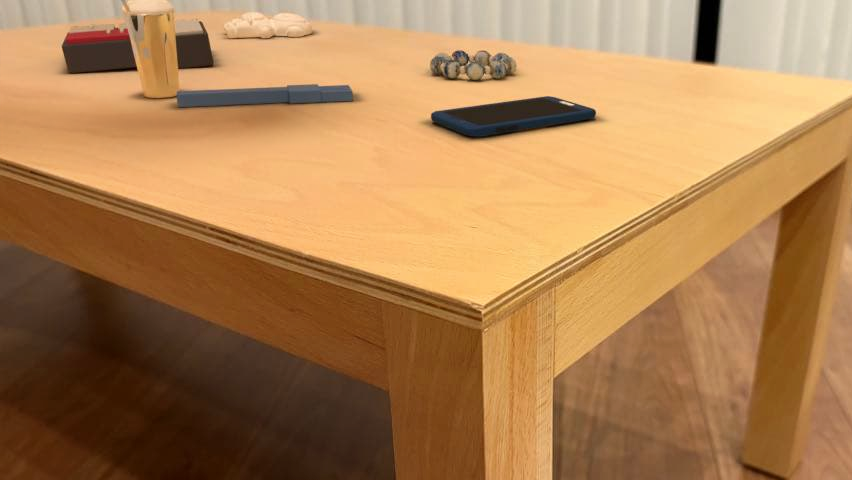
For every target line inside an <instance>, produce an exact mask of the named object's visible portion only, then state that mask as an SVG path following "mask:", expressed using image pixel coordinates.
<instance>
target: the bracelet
mask: <svg viewBox="0 0 852 480" xmlns="http://www.w3.org/2000/svg"><path fill="white" fill-rule="evenodd" d="M429 68H430V71H431V72H432V74H435V75H437V76H438V75H439V76H441V75H443V76H444V77H446V78H447V79H450V80H453V79H456V78H458V77H459V76H460V75H466V77H467V78H468V79H470V80H472V81H479V80H480V79H482V78H483V77H484V76H485V75H486V76H487V75H489V76H490V77H492V78H494V79H502V78H504V77H505V76H506V75H512V74H514V73H515V72H516V70H517V62H516V60H515V58H513V57H512V56H509V55H508V54H507V53H505V52H498V53H496V54H495V55H491V53H490V52H489V51H487V50H483V49H482V50H478V51H477V52H476V53H475V54H474V55H473V54H469V53H467V52H466V51H464V50H461V49H459V50H455V51H453V53H452V54H451V55H449V54H448V53H447V52H439V53H437V54H436V55H434V57H433V58H431V60H430V62H429Z"/></svg>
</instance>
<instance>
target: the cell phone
mask: <svg viewBox="0 0 852 480" xmlns="http://www.w3.org/2000/svg"><path fill="white" fill-rule="evenodd" d="M596 114H597V111H596V109H595V108H592V107H589V106H585V105H583V104H578V103H576V102H572V101H569V100H565V99H563V98H560V97H556V96H549V95H545V96H538V97H530V98H522V99H515V100H508V101H500V102H493V103H486V104H479V105H472V106H464V107H456V108H449V109H442V110H435V111H433V112H431V113H430V119H431V121H432V122H433V123H436V124H439V125H440V126H442V127H443V126H444V127H446V128H448V129H450V130H454V131H456V132H459V133H461V134H463V135H466V136H469V137H486V136H493V135H498V134H504V133H512V132H517V131H518V132H519V131H523V130H530V129H536V128H543V127H549V126H554V125H555V126H556V125H561V124H566V123H568V124H569V123H575V122H580V121H586V120H591V119H595V118H596Z"/></svg>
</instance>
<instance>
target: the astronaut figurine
mask: <svg viewBox="0 0 852 480" xmlns="http://www.w3.org/2000/svg"><path fill="white" fill-rule="evenodd" d="M222 27H223V31H224V33H225V34H227V38H228V39H237V38H239V39H244V38H247V39H248V38H261V39H271V38H272V37H273V36H276V37H289V38H302V37H305V36H308V35H311V34H312V33H313V28H312V25H311V23H310V21H307V19H306V18H305V17H303V16H301V15H299V14H296V13H293V12H292V13H291V12H280V13H277V14H275V15H273V17H272V18H270V19H269V18H268V17H266V16H265V15H264V14H263V13H261V12H259V11H252V12H245V13H243V14H241V16H240V17H236V18H233V19H231V21H230V20H228V21H226V22H225V23H224V24H223V26H222Z"/></svg>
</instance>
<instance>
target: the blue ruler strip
mask: <svg viewBox="0 0 852 480" xmlns="http://www.w3.org/2000/svg"><path fill="white" fill-rule="evenodd" d="M353 92H354V91H353V90H352V88H351V87H350V85H349V84H341V85H340V84H339V85H319V84H318V83H312V84H289V85H288V84H287V85H286V86H274V87H273V86H272V87H271V86H270V87H247V88H245V87H244V88H223V89H222V88H221V89H220V88H219V89H199V90H180V91H177V95H176V96H175V97H176V102H177V108H193V107H194V108H196V107H197V108H198V107H215V106H216V107H218V106H237V105H238V106H239V105H240V106H241V105H259V104H260V105H261V104H280V103H281V104H282V103H283V104H284V103H289V104H293V105H295V104H313V103H317V104H318V103H336V102H337V103H338V102H353V101H354V94H353Z"/></svg>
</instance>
